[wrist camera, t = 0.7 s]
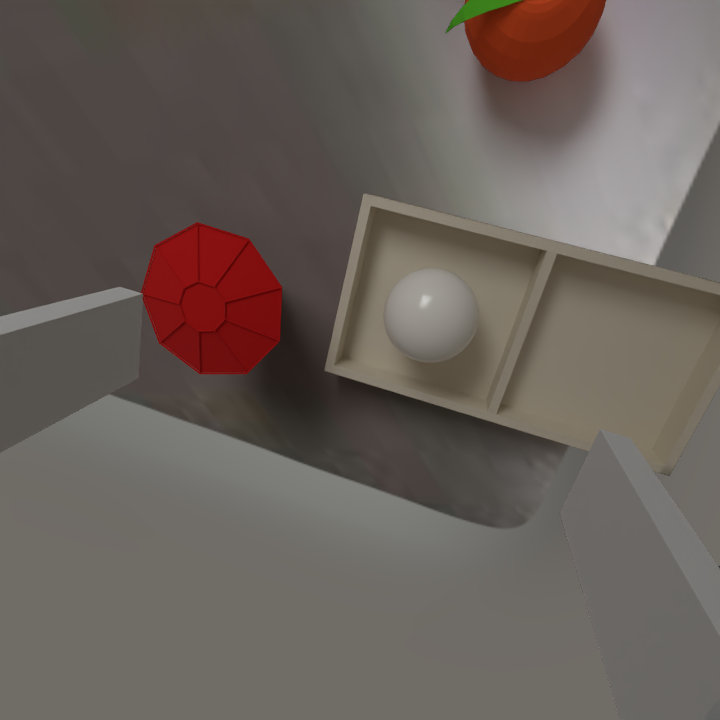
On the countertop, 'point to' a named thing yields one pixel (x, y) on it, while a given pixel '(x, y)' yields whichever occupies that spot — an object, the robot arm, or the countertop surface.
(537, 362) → the divided tray
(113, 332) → the robot arm
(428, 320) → the white ball
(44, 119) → the countertop surface
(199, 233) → the gemstone
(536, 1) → the clementine
